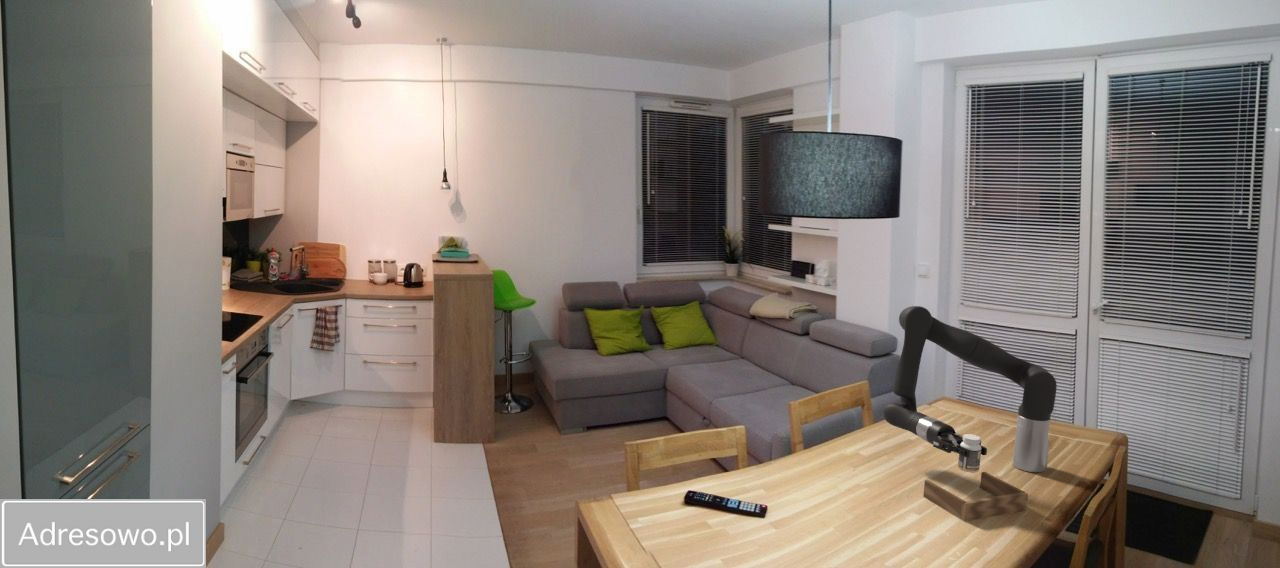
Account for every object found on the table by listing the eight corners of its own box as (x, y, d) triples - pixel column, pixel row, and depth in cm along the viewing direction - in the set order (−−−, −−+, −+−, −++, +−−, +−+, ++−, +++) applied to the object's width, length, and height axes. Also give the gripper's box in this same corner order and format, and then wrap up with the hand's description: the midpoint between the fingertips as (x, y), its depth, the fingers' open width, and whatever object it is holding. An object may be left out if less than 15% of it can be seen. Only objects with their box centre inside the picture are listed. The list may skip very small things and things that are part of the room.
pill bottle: (981, 469, 212) (985, 436, 210) (975, 475, 207) (979, 442, 206) (961, 463, 215) (964, 431, 214) (954, 469, 211) (958, 436, 209)
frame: (983, 487, 221) (984, 471, 220) (1026, 510, 206) (1028, 493, 205) (923, 496, 213) (924, 480, 213) (963, 521, 199) (965, 503, 198)
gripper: (917, 422, 221) (958, 443, 205) (955, 418, 225) (998, 438, 210) (915, 446, 222) (955, 468, 206) (952, 441, 227) (995, 462, 211)
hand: (977, 453), depth 208 cm, fingers closed on pill bottle, 5 cm apart
